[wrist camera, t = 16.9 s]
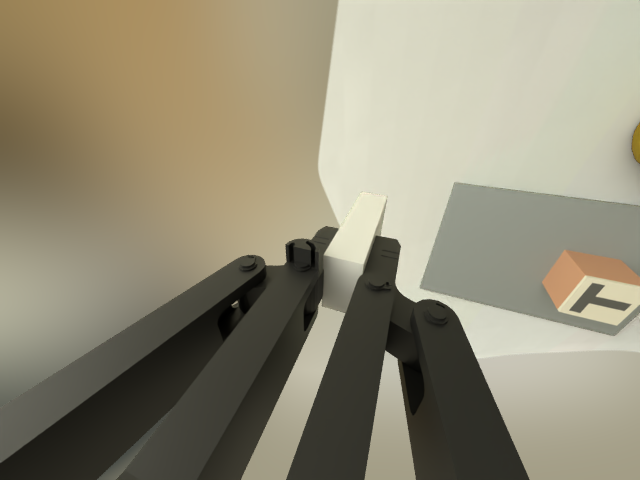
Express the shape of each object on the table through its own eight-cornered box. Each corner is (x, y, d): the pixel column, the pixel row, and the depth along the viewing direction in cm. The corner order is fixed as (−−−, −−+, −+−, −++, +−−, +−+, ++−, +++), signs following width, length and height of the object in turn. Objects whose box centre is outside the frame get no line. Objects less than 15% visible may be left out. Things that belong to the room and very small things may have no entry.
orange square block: (654, 290, 27) (620, 259, 32) (587, 277, 29) (564, 249, 33) (617, 325, 30) (591, 292, 35) (558, 311, 32) (541, 282, 37)
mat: (454, 182, 34) (454, 183, 34) (737, 218, 26) (740, 219, 26) (419, 286, 45) (419, 288, 45) (612, 334, 37) (613, 336, 37)
